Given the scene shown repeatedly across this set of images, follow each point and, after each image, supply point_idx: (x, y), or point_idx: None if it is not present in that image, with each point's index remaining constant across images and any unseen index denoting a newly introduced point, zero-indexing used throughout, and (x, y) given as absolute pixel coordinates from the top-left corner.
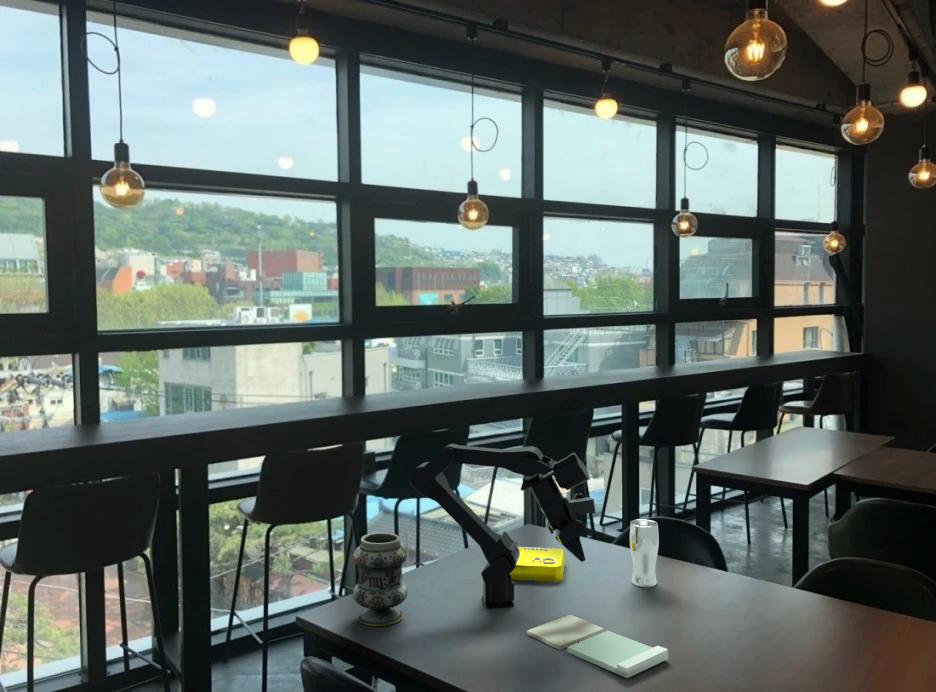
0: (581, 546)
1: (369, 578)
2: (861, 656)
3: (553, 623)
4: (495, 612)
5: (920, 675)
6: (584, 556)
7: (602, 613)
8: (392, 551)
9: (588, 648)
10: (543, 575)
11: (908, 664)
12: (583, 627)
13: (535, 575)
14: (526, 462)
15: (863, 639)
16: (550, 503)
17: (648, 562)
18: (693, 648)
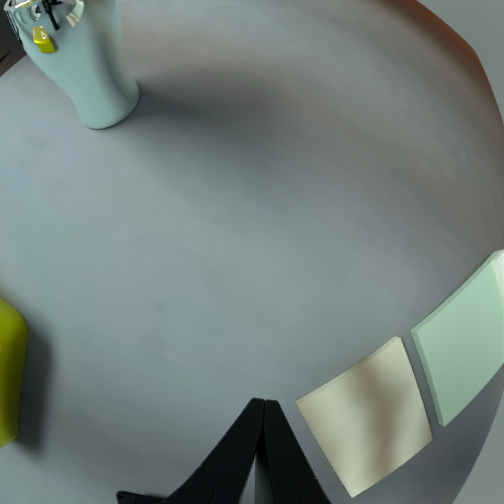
0: (314, 479)
1: None
2: (442, 38)
3: (340, 452)
4: None
5: (463, 40)
6: (284, 416)
7: (284, 300)
8: None
9: (462, 389)
10: (14, 370)
11: (447, 28)
12: (383, 386)
13: (12, 388)
14: None
15: (402, 7)
16: None
17: (120, 54)
18: (461, 183)
